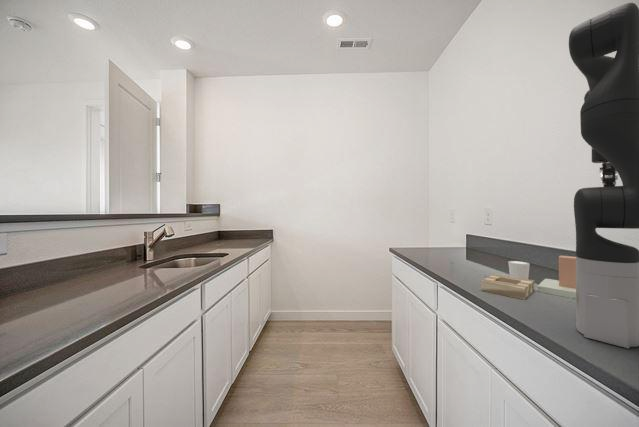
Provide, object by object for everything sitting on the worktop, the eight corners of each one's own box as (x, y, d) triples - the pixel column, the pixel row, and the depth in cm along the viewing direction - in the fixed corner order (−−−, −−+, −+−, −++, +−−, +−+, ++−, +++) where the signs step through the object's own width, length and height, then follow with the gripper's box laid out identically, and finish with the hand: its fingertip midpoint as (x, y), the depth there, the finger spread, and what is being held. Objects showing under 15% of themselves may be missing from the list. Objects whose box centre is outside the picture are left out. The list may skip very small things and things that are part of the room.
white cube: (534, 281, 96) (534, 264, 96) (516, 282, 96) (516, 264, 96) (520, 277, 103) (520, 260, 103) (504, 277, 103) (503, 260, 103)
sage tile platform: (599, 302, 74) (599, 296, 74) (537, 291, 85) (537, 285, 85) (601, 292, 83) (601, 286, 83) (545, 283, 93) (545, 278, 93)
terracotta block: (577, 289, 81) (577, 258, 81) (559, 286, 84) (558, 256, 84) (578, 286, 83) (578, 257, 83) (560, 283, 87) (560, 255, 87)
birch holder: (524, 299, 77) (524, 288, 77) (481, 290, 86) (481, 280, 86) (534, 290, 86) (534, 280, 86) (494, 283, 95) (493, 274, 95)
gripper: (592, 151, 86) (593, 198, 86) (589, 145, 77) (590, 197, 77) (627, 147, 80) (627, 197, 80) (628, 139, 71) (628, 195, 71)
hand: (609, 197), depth 78 cm, fingers open, 8 cm apart
